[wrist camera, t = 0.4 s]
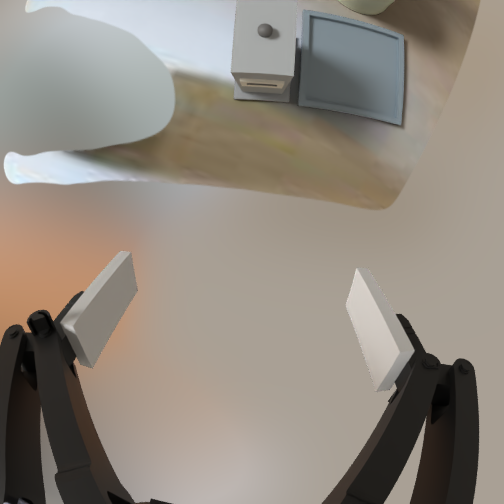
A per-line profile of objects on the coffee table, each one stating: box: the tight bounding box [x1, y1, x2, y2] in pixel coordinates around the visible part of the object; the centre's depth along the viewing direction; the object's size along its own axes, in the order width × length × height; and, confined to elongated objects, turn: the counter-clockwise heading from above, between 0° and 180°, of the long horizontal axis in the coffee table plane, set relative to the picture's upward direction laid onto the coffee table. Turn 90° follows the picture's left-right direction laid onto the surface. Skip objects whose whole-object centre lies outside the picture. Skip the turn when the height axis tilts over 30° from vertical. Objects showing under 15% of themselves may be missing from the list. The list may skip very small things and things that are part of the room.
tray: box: [298, 10, 404, 125], centre depth 27 cm, size 15×15×1 cm
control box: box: [231, 0, 297, 103], centre depth 22 cm, size 10×7×15 cm
